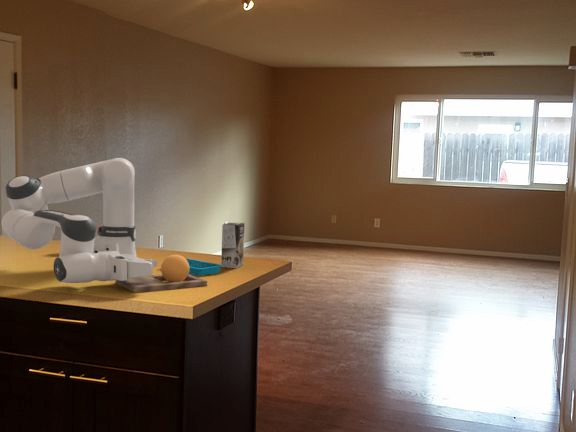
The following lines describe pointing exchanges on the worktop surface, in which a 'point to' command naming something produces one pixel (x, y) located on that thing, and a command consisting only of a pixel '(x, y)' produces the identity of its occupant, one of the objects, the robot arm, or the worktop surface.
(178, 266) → the ball
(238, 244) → the coffee box
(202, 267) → the ice cube tray
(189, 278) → the walnut board
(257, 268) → the worktop surface
